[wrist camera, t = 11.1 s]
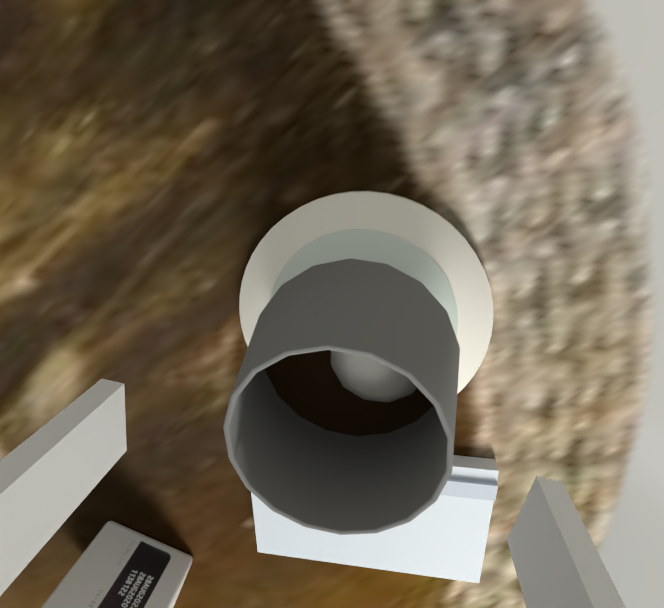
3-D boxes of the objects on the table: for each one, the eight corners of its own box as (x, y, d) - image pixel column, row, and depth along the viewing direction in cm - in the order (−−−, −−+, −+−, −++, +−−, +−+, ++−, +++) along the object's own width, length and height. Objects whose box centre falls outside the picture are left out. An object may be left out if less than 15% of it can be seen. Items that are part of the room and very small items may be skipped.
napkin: (261, 540, 32) (256, 555, 31) (250, 435, 28) (244, 448, 27) (476, 569, 29) (479, 587, 28) (495, 459, 26) (500, 474, 24)
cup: (435, 224, 20) (468, 290, 11) (460, 387, 23) (502, 550, 14) (256, 260, 22) (154, 342, 13) (300, 406, 25) (243, 558, 16)
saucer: (236, 389, 27) (230, 399, 26) (255, 167, 21) (248, 169, 20) (450, 439, 26) (452, 451, 25) (527, 218, 20) (533, 222, 19)
